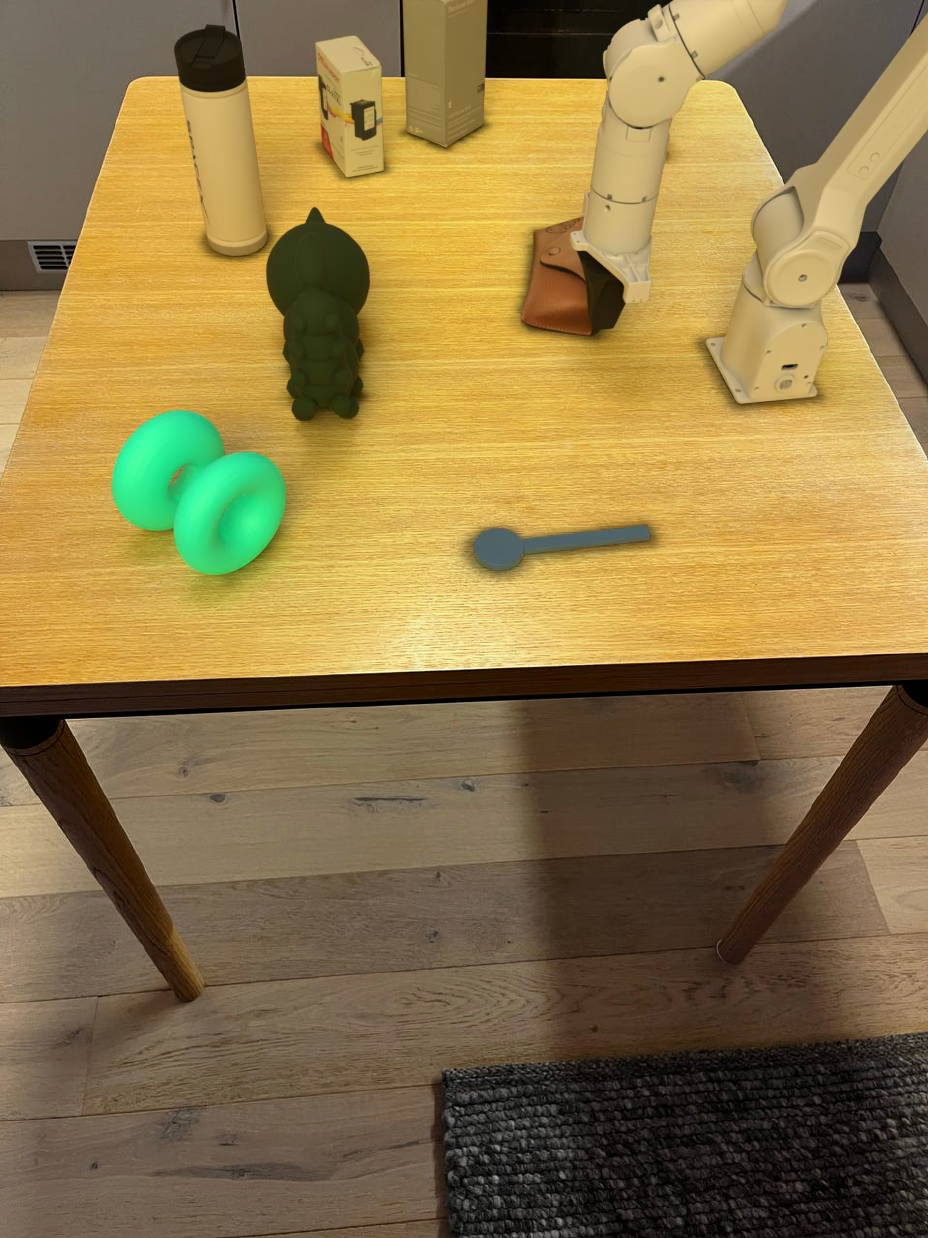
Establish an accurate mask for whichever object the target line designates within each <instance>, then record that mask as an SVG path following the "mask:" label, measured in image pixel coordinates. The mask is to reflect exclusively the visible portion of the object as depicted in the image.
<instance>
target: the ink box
mask: <svg viewBox="0 0 928 1238" xmlns="http://www.w3.org/2000/svg"><path fill="white" fill-rule="evenodd" d="M314 45H315V58H316V60H315V61H316V74H317V87H318V88H317V91H318V104H319V105H318V107H319V108H318V109H319V120H320V133H321V135H320V136H321V145H322V147H323V148H324V149H325V151H326V153H328V155H329V156H330V157H331V159H332V161H334V163H335V164H336V165H337V167H338V168H339V170H340V171H341V172H342V174H343V175H344V176H345V178H352V177H357V176H363V175H368V174H374V173H378V172H383V171H384V170H385V159H384V158H385V157H384V155H385V154H384V115H383V69H382V66H381V62H380V61H379V60H378V59H377V57H375V55H374V54H373V53H372V52H371V51H370V50H369V49H368V47H366V45H365V44H364V43H363V42H362V41H361V40H360V38H359V37H358V36H357V35H348V36H342V37H337V38H332V39H326V40H320V41H315V43H314Z"/></svg>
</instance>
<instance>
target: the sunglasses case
mask: <svg viewBox="0 0 928 1238" xmlns="http://www.w3.org/2000/svg"><path fill="white" fill-rule="evenodd" d="M583 220H584V215H582V216H579V217H576V218H573V219H568V220H566V221H561V222H560V223H556V224H552V225H549V226H547V227H543V228H541V229H534V230H533V252H532V261H531V268H530V275H529V281H528V286H527V292H526V295H525V298H524V302H523V306H522V311H521V315H520V322H521V323H523V324H525V325H526V326H527V327H532V328H533V327H534V328H538V329H541V330H545V331H548V332H556V333H562V334H568V335H576V336H577V335H578V336H586V337H591V336H593V335H595V334H598V333H600V331H601V330H593V329H592V327H591V324H590V322H589V317H588V307H587V292H586V283H585V277H584V272H583V268H582V265H581V261H580V259H579V256H578V253H577V250H574V249H573V247H572V245H571V243H570V233H571V232H574V231H580V230H582V226H583Z"/></svg>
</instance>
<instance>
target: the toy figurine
mask: <svg viewBox="0 0 928 1238" xmlns="http://www.w3.org/2000/svg"><path fill="white" fill-rule="evenodd" d="M265 267H266V268H265V279H266V286H267V291H268V294H269V297H270V299H271V301H272V303H273V305H274V306H275V308H276V309H277V311H278V312H279V313H280V314H281V315H282V316H283V323H282V333H283V339H284V344H283V349H282V352H281V353H282V357H283V359H284V360H285V361H286V362H287V363H288V365H289V366H288V367H289V372H290V378H289V379H288V381H287V384H286V386H285V387H286V388H285V389H286V391H287V392H288V394H289V395H290V397H291V398H292V399H295V400H293V402H292V404H291V410H290V411H291V413H292V415H293V416H294V418H295V420H297V421H299V422H309V421H310V420H312V419H314V416H315V414H317V413H318V411H321V412H322V411H323V412H328V411H331V413H333V414H335V415H336V416H338V417H339V418H341V419H343V420H352V419H354V418H356V417H357V416H358V413H359V410H360V404H359V401H358V400H357V398H356V397H357V396H359V395H361V392H362V391H363V388H364V386H365V385H364V382H363V380H362V378H361V377H360V375H359V369H360V367H359V366H360V361H361V359H362V357H363V356H364V353H365V347H364V345H363V342H362V340H361V338H360V323H359V320H358V315H359V314H360V312H361V311H362V309H363V308H364V306H365V304H366V302H367V300H368V295H369V292H370V287H371V272H370V264H369V262H368V258H367V255H366V254H365V252H364V250H363V248H362V247H361V246H360V244H359V243H358V242H357V241H356V240H355V239H354V238H353V237H352V235H350V234H349V233H348V232H347V231H345V230H343V229H342V228H341V227H338V226H336V225H334V224H331V223H327V222H326V220H325V219H324V216H323V215H322V213H321V211H320V209H319V208H318V207H317V206H313V207H312V208H311V209H310V211H309V214H308V215H307V217H306V220H305V222H304V223H301V224H298V225H295V226H294V227H292V228H290V229H288V230H287V231H285V232H284V233H283V234H282V235H281V236H280V237H279V239H278V240H277V241H276V242H275V244H274V245H273V247H272V249H270V252H269V253H268V257H267V260H266V266H265Z"/></svg>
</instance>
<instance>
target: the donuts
mask: <svg viewBox="0 0 928 1238" xmlns="http://www.w3.org/2000/svg"><path fill="white" fill-rule="evenodd" d="M223 442H224V441H223V438H222V435H221V434H220V432H219V430H218V428H217V427H216V426H215V425H214V424H213V422H212V421H211V420H210V419H208V418H207V417H206V416H203V415H202V414H200V413H197V412H195V411H191V410H187V409H186V410H185V409H176V410H170V411H164V412H163V413H159V414H157V415H155V416H153V417H151V418H149V419H148V420H146V421H145V422H144V423H142V424H141V425H140V426H138V427H137V428H136V429H135V430H134V431H133V432H132V433H131V434H130V435H129V437H127V440H126V441H125V442H124V443H123V445H122V447H121V449H120V450H119V452H118V455H117V456H116V459H115V462H114V465H113V469H112V473H111V474H112V475H111V484H110V485H111V486H110V487H111V495H112V499H113V501H114V504H115V506H116V509H117V510H118V512H119V513H120V515H121V516H122V517H123V518H124V519H125V520H126V521H127V522H129V523H130V524H131V525H133V526H134V527H137V528H139V529H142V530H146V531H154V532H158V531H159V532H160V531H167V530H171V529H173V540H174V544H175V545H174V546H175V548H176V550H177V552H178V555H179V557H180V558H181V559H182V560H183V562H184V563H185V564H186V565H187V566H188V567H190V568H191V569H192V570H194V571H195V572H198V573H201V574H203V575H208V576H219V575H220V576H222V575H226V574H230V573H233V572H235V571H238V570H241V568H244V567H245V566H246V565H248V564H249V563H251V562H253V560H255V559H256V558H257V557H258V556H259V555H260V554H261V553H262V552H263V551H264V550H265V549H266V548H267V546H268V545H269V543H270V542H271V541H272V539H273V538H274V537H275V535H276V533H277V531H278V529H279V527H280V525H281V523H282V520H283V517H284V514H285V511H286V505H287V485H286V480H285V478H284V475H283V473H282V471H281V470H280V468H279V467H278V466H277V464H276V463H275V462H274V461H273V460H271V458H268V457H267V456H265V455H263V454H260V453H257V452H254V451H253V452H252V451H237V452H233V453H229V454H226V452H225V451H226V450H225V445H224V443H223ZM181 468H182V469H181ZM180 469H181V470H180ZM179 470H180V472H179V474H178V476H177V477H176V478H175V480H174V481H173V482H172V479H173V477H174V476H175V474H176V473H177V472H178V471H179ZM171 482H172V483H171Z"/></svg>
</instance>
